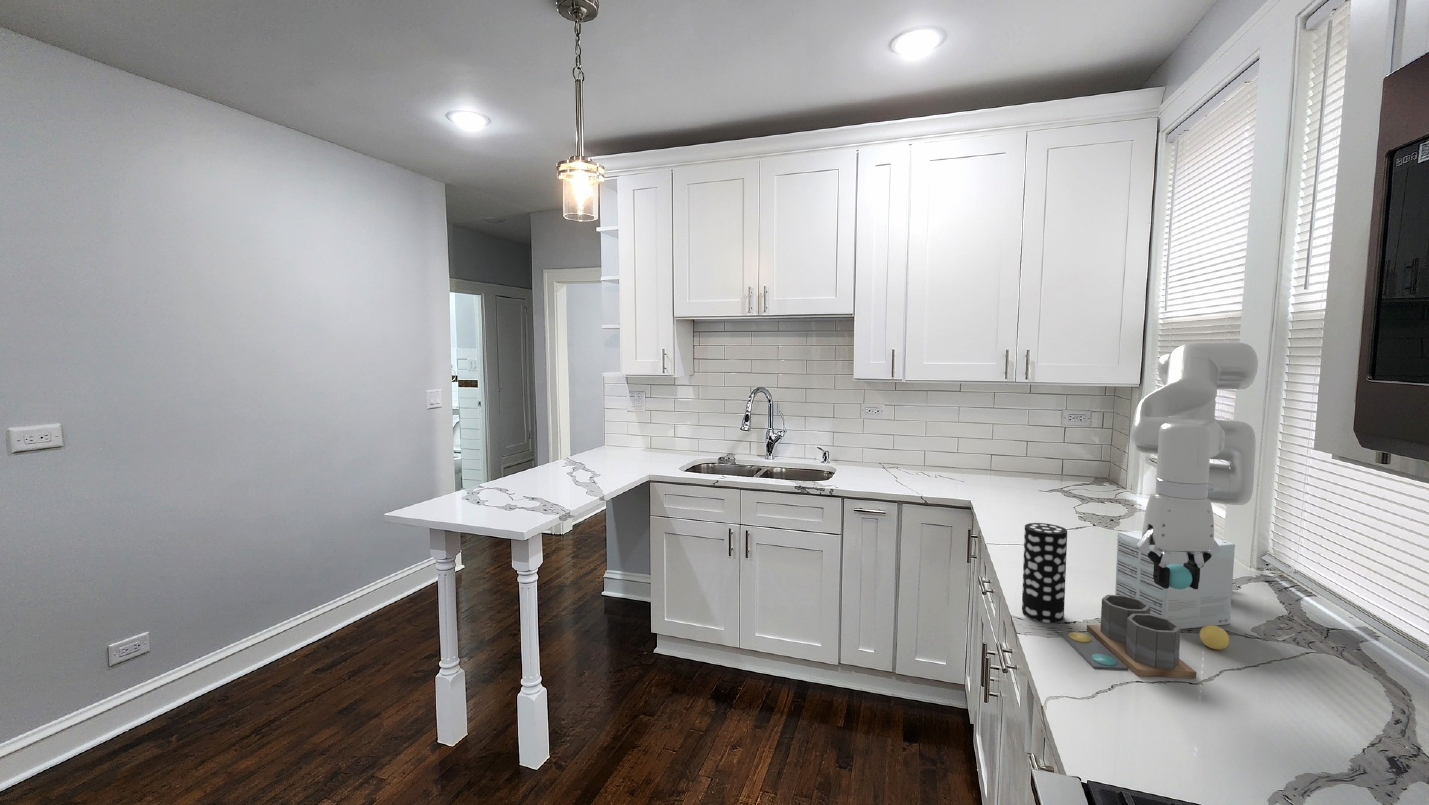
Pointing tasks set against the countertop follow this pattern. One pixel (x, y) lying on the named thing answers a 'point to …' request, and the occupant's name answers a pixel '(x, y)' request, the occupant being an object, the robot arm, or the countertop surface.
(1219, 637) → the ochre ball
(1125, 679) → the countertop surface
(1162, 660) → the double cup sorting tray
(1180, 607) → the supplement box
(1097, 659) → the card
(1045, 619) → the spotted tube
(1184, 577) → the teal ball
